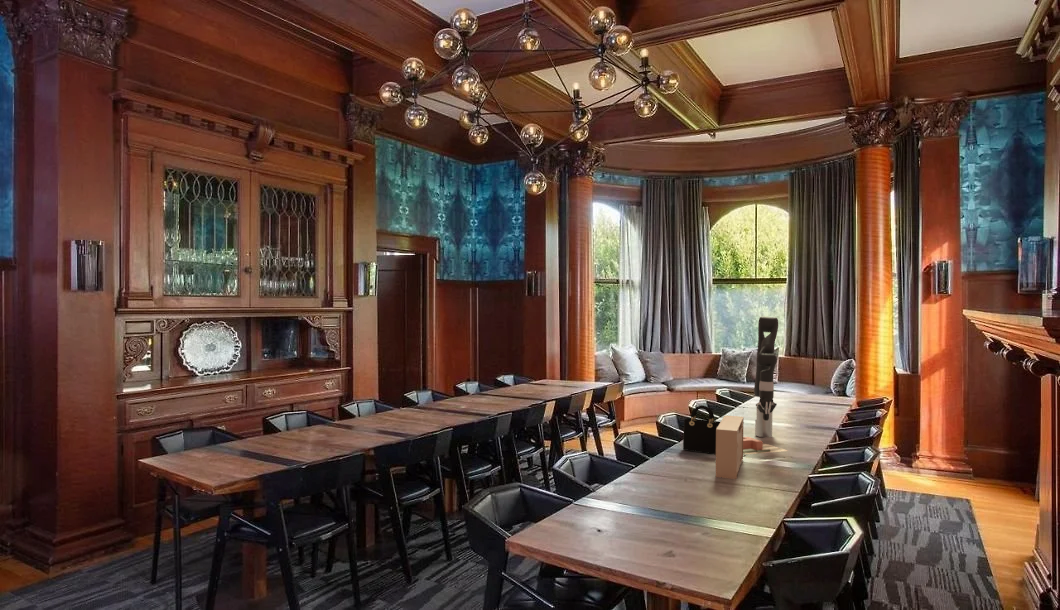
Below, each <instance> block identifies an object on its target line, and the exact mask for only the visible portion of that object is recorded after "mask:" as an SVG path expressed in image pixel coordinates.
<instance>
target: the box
mask: <svg viewBox="0 0 1060 610" xmlns="http://www.w3.org/2000/svg"><path fill="white" fill-rule="evenodd" d="M744 418H745V417H744V416H740V415H739V416H735V415H724V416H723V418H722V419H721V421H719V422H720V424H719V425H718V427H717V429H716V454H715V477H716V478H721V477H722V479H730V480H731V479H732V480H737V476H738V474H739V471H740V467H741V465H742V461H743V460H744V456H743V455H744V454H743V437H744V423H745V422H744V420H745V419H744ZM742 459H743V460H742Z"/></svg>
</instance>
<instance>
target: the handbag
mask: <svg viewBox="0 0 1060 610" xmlns="http://www.w3.org/2000/svg"><path fill="white" fill-rule="evenodd" d="M699 410H705V411H706V412H707V413H708V419H699V418H697V412H698V411H699ZM720 422H721V421H717V420H715V415H714V412H713V410H712V409H711V408H710V407H708V406H706V405H698V406H696V407H695V408H693V410H692V412H691V414H690V418H688V417H686V418H684V421H683V438H682V447H683V448H682V449H683V451H691V452H697V453H705V454H712V455H716V429H717V427H718V425H719V424H720Z"/></svg>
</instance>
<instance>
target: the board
mask: <svg viewBox="0 0 1060 610" xmlns="http://www.w3.org/2000/svg"><path fill="white" fill-rule="evenodd" d="M780 452H789V450H786V449H784V448H781V447H777V446H774V445H771V444H768V443H764V442H763V450H754V449H743V455H744V456H743V457H745V456H748V455H758V454H767V453H768V454H769V453H780Z"/></svg>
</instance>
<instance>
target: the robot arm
mask: <svg viewBox="0 0 1060 610" xmlns="http://www.w3.org/2000/svg"><path fill="white" fill-rule="evenodd" d="M757 327H758V328H757V329H758V330H757V331H758V333H757V335H758V336H757V337H758V339H757V340H758V341H757V351H756V372H755V380H754V389H753V393H754V396H755V397H757V398H759V401H758V402H757V403H755V407H756V417H755V418H756V419H755V420H754V421H755V423H754V424H755V425H754V426H755V427H754V428H755V429H754V434H755V436H757V437H759V438H765V437H768V438H772V437H773V412H774V410H775V408H776V407H777V403H775V402H774V398H775V397H774V395H775V394H774V393H775V392H774V390H775V389H774V388H775V387H774V386H775V384H774V373H775V368H776V366H777V363H778V357H777V355H776V354H775V343H776V339H777V335H778V331H779V319H778V318H777V317H774V316H759V319H758V326H757ZM765 333H769V334H767V336H765Z"/></svg>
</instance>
